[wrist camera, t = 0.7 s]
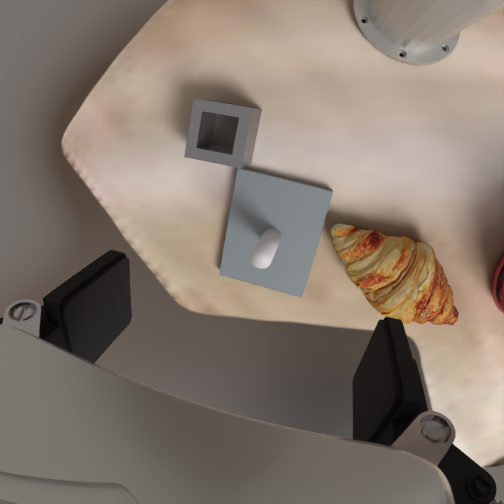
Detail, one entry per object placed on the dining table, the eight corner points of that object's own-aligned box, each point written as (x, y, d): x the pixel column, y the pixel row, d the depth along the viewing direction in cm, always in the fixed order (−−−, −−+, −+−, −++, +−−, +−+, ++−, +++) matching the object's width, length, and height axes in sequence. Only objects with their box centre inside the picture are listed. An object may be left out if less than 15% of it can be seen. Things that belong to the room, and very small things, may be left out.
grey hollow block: (208, 100, 35) (193, 99, 31) (261, 109, 34) (252, 108, 30) (199, 152, 38) (184, 156, 34) (251, 162, 37) (241, 168, 33)
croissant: (319, 232, 42) (298, 278, 37) (360, 183, 34) (343, 230, 29) (434, 311, 42) (426, 358, 37) (484, 281, 34) (483, 333, 29)
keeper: (239, 167, 37) (219, 178, 31) (332, 190, 36) (333, 207, 29) (221, 270, 43) (201, 299, 37) (302, 293, 42) (296, 327, 35)
